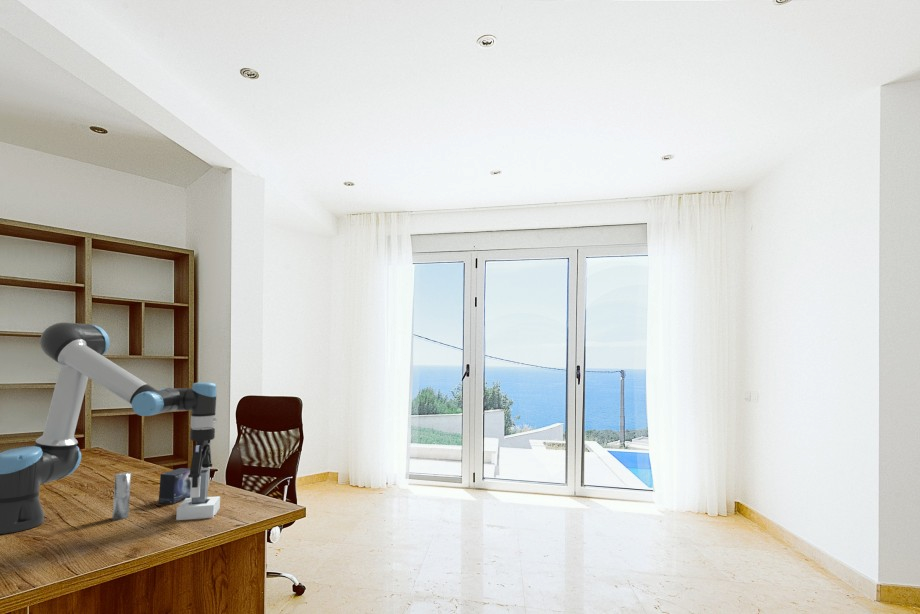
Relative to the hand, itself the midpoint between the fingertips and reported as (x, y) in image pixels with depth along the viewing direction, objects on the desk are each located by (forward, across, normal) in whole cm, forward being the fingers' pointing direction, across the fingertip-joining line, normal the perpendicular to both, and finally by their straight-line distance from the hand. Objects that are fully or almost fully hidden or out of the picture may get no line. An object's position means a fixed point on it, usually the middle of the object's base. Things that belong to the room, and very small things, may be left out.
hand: (199, 491), depth 174 cm
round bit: (+7, +2, +24) cm, 25 cm away
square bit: (+7, 0, 0) cm, 7 cm away
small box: (+8, +20, +12) cm, 24 cm away
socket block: (+7, 0, 0) cm, 7 cm away
